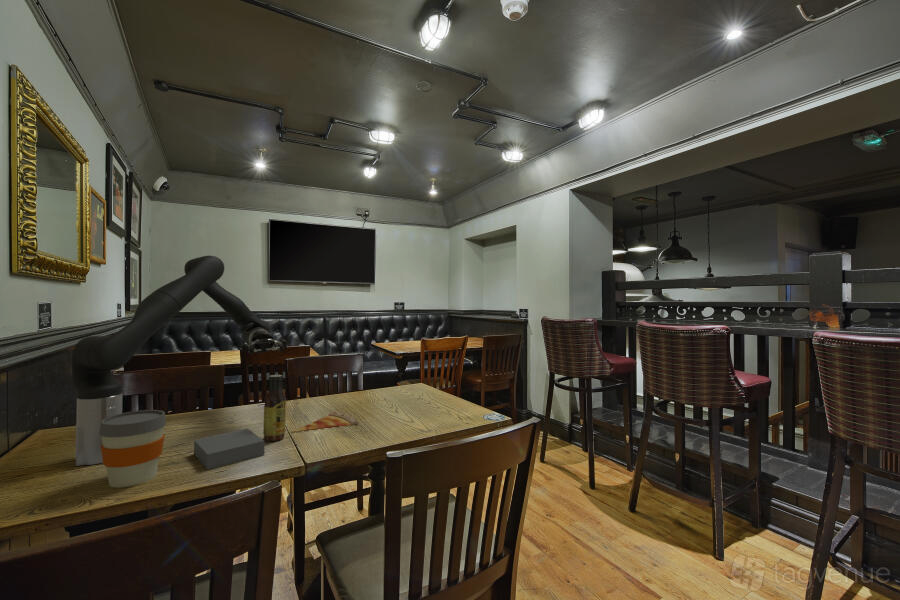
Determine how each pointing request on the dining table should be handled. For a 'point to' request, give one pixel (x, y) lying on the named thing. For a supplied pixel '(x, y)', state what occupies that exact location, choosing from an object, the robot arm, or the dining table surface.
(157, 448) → the reusable coffee cup
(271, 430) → the sauce bottle
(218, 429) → the dining table surface
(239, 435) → the charcoal base
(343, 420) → the pizza slice
